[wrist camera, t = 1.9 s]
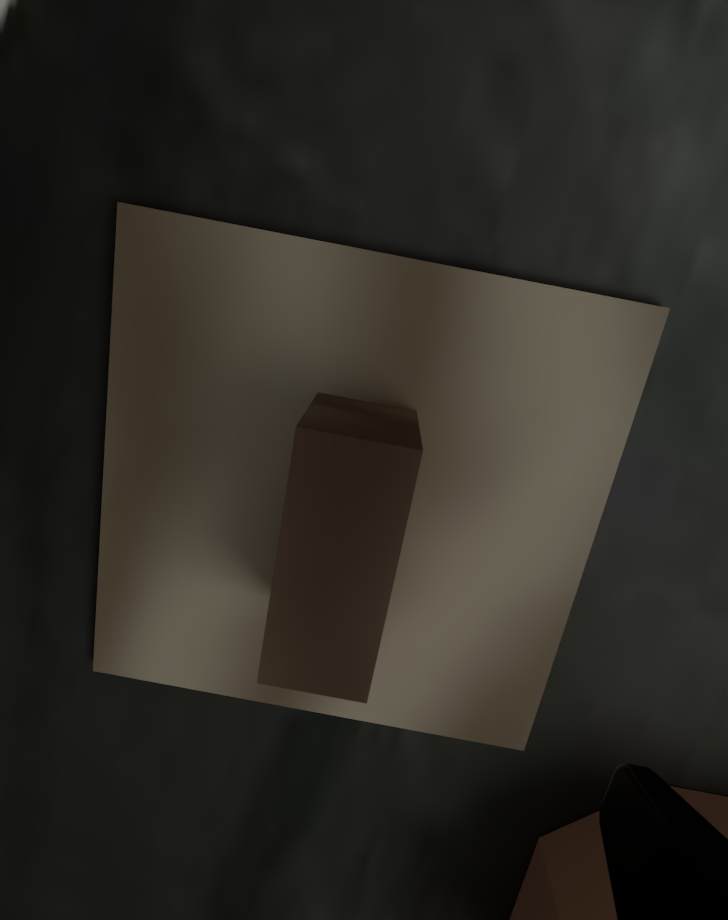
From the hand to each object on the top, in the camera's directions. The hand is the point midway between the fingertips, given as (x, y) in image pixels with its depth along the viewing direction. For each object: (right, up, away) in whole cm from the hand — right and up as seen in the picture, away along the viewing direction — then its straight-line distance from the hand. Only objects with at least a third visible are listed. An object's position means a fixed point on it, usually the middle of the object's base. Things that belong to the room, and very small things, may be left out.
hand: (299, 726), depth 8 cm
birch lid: (+1, +3, +8) cm, 9 cm away
